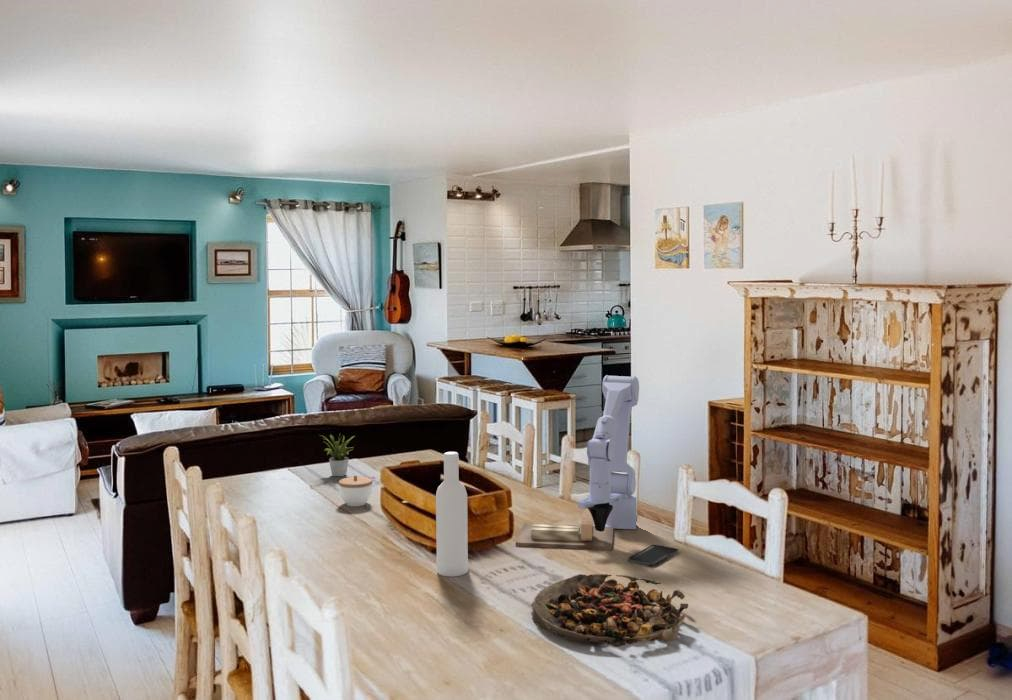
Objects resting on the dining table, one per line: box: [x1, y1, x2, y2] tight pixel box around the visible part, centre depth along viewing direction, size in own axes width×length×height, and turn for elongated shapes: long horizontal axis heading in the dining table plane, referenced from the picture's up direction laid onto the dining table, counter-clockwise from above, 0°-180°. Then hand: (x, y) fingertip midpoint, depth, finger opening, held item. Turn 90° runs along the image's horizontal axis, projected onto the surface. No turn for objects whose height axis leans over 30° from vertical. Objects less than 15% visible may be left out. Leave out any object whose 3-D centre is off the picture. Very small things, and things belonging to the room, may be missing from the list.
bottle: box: [435, 451, 469, 578], centre depth 213 cm, size 8×8×30 cm
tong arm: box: [532, 523, 580, 531], centre depth 240 cm, size 13×2×2 cm, turn 78°
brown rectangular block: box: [580, 517, 594, 541], centre depth 237 cm, size 3×6×5 cm, turn 172°
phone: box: [627, 544, 679, 568], centre depth 225 cm, size 8×1×15 cm
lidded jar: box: [338, 474, 373, 507], centre depth 278 cm, size 11×11×9 cm
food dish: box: [530, 573, 689, 647], centre depth 186 cm, size 35×33×8 cm
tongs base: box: [515, 523, 614, 551], centre depth 241 cm, size 26×18×4 cm
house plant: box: [319, 434, 355, 477], centre depth 317 cm, size 14×14×16 cm
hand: (599, 530), depth 237 cm, fingers closed
